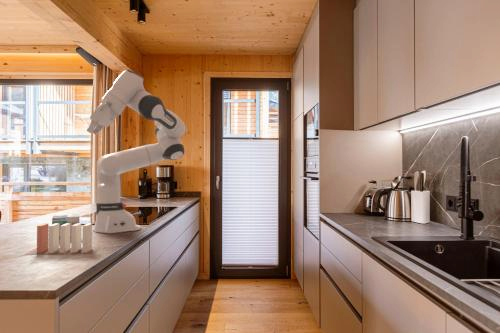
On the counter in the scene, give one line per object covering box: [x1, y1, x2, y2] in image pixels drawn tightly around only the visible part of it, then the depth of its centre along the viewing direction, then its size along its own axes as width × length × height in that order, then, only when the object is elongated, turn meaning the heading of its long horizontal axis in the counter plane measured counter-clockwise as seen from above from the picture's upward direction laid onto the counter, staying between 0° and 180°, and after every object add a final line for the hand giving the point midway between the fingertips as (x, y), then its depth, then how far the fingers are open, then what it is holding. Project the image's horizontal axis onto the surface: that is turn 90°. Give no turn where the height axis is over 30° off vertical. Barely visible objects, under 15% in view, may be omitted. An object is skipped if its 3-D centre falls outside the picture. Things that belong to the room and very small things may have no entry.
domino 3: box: [59, 223, 71, 253], centre depth 124 cm, size 2×5×10 cm, turn 7°
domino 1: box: [36, 223, 49, 253], centre depth 123 cm, size 2×5×10 cm, turn 7°
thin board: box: [22, 246, 102, 256], centre depth 124 cm, size 24×10×1 cm, turn 97°
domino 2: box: [48, 223, 60, 253], centre depth 123 cm, size 2×5×10 cm, turn 7°
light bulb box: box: [51, 213, 80, 241], centre depth 146 cm, size 11×7×11 cm, turn 117°
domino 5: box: [82, 222, 93, 252], centre depth 125 cm, size 2×5×10 cm, turn 7°
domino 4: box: [70, 222, 82, 253], centre depth 124 cm, size 2×5×10 cm, turn 7°
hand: (91, 132), depth 130 cm, fingers open, 8 cm apart
